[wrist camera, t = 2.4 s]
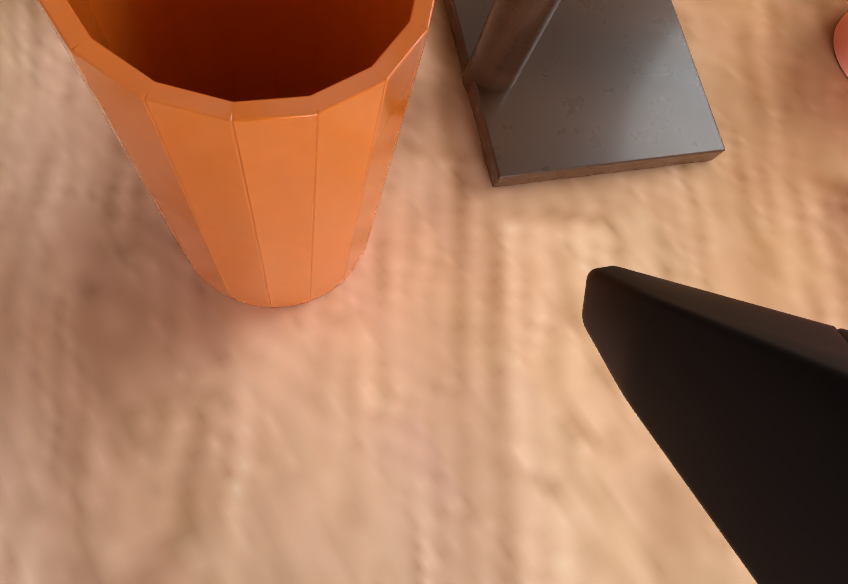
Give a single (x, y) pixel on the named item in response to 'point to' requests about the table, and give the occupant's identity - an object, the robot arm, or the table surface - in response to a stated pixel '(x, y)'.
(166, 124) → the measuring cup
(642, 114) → the hook stand
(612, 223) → the table surface
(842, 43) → the pottery
